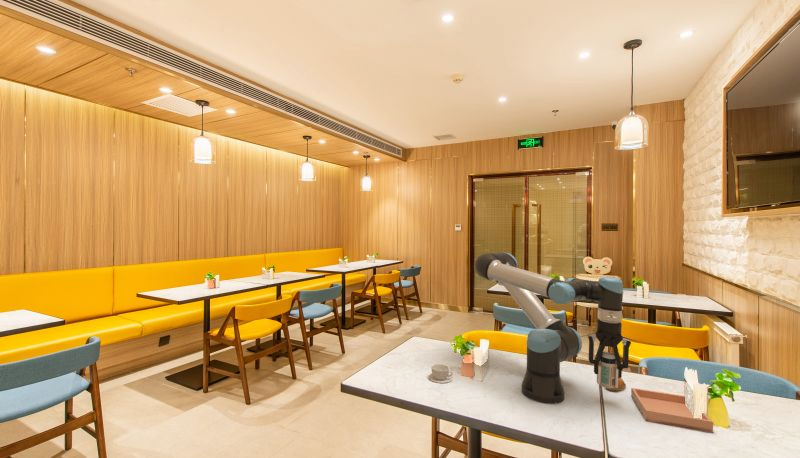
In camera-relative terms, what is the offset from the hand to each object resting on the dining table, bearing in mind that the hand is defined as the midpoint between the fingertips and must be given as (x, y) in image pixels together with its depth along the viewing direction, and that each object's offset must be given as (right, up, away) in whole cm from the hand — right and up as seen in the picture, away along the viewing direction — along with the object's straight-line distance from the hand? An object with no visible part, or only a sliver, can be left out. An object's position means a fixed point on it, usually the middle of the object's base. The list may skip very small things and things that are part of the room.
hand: (607, 384), depth 125 cm
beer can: (0, -1, 0) cm, 1 cm away
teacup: (-58, -6, +18) cm, 61 cm away
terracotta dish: (+17, -7, -7) cm, 20 cm away
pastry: (+11, -7, +13) cm, 18 cm away
